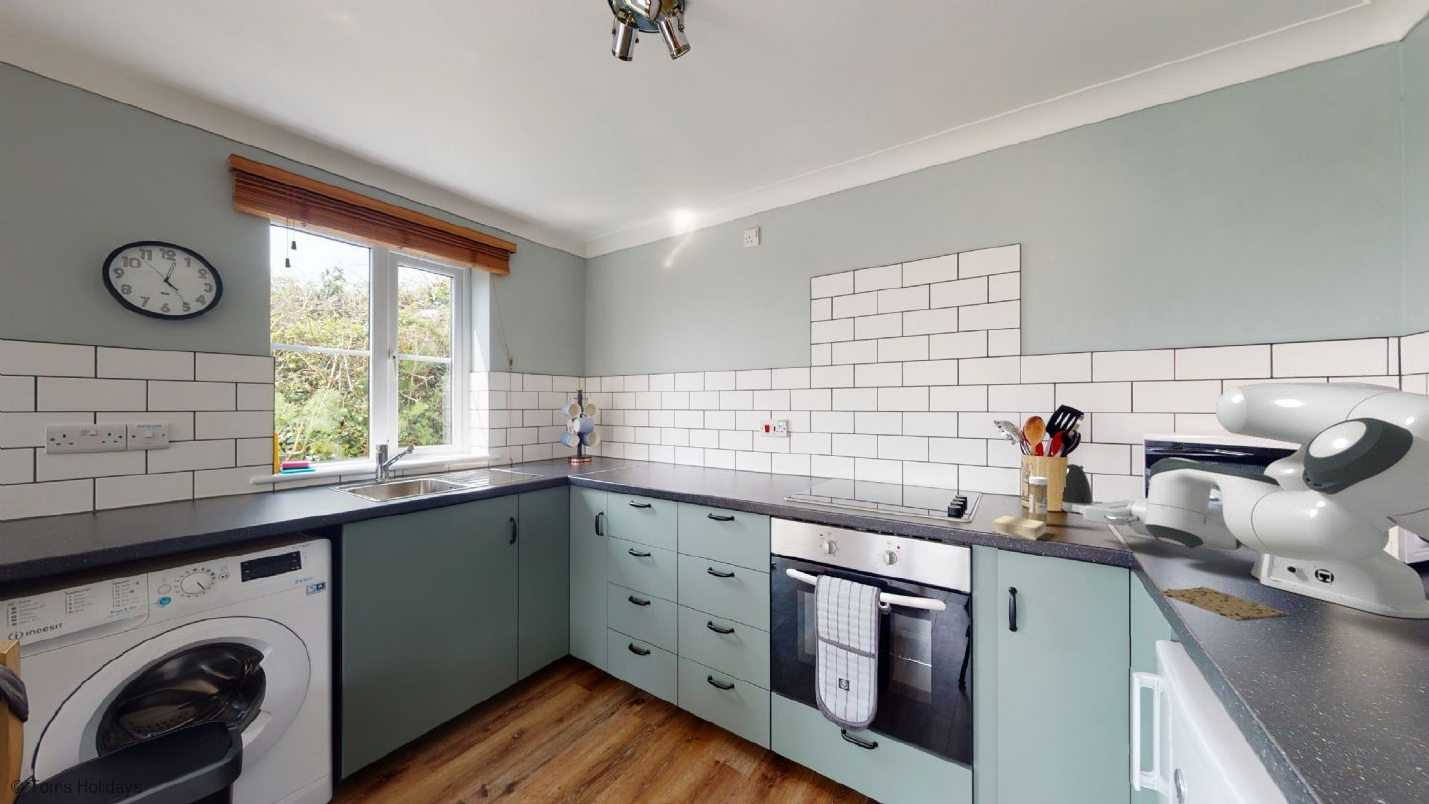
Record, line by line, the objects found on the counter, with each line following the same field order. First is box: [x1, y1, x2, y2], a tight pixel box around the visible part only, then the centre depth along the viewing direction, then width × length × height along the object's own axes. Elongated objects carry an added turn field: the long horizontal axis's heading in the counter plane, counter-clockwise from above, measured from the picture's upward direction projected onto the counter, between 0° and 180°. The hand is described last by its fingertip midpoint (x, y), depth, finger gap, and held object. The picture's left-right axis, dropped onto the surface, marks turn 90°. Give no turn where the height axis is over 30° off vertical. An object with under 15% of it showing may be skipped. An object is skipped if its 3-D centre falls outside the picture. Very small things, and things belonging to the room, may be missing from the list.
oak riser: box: [991, 514, 1047, 541], centre depth 130 cm, size 10×10×3 cm
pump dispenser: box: [1062, 463, 1093, 514], centre depth 157 cm, size 10×10×15 cm
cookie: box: [1157, 586, 1292, 622], centre depth 85 cm, size 12×12×1 cm
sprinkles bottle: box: [1028, 476, 1049, 526], centre depth 140 cm, size 5×5×14 cm
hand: (1084, 505), depth 128 cm, fingers open, 8 cm apart
